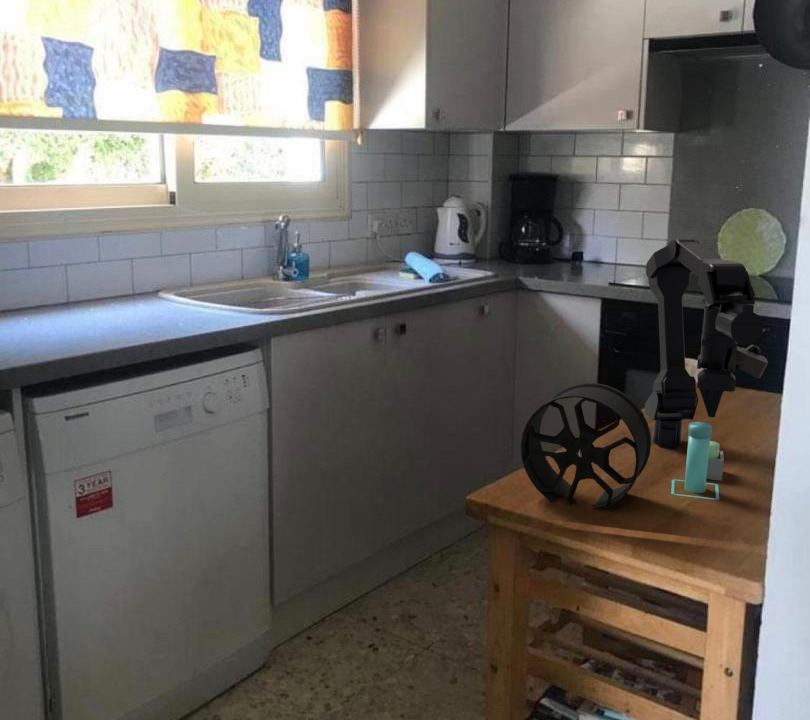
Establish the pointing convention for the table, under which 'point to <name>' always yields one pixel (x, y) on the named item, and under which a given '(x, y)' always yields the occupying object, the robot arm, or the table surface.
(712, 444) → the button
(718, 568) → the table surface
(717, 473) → the button housing
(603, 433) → the car wheel rim
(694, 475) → the teal round-topped cylinder
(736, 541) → the table surface
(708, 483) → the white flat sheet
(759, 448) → the table surface
